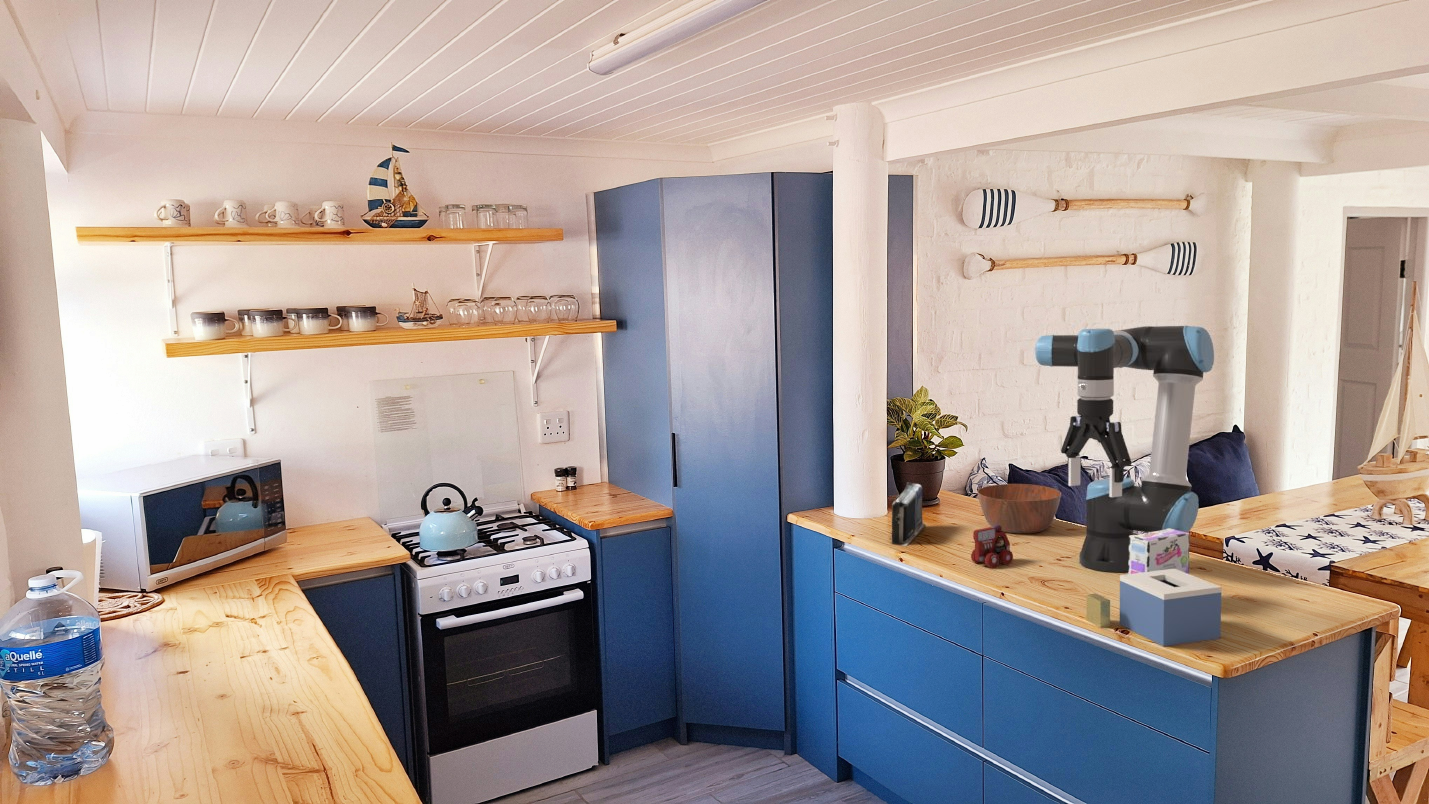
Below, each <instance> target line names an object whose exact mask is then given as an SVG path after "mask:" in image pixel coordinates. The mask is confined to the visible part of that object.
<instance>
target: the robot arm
mask: <svg viewBox="0 0 1429 804" xmlns="http://www.w3.org/2000/svg"><path fill="white" fill-rule="evenodd" d="M1213 344H1214V343H1213V340H1212V337H1211V335H1210V333H1209V332H1208V330H1207V329H1205V328H1204V327H1202V326H1191V325H1164V326H1163V325H1161V326H1160V325H1159V326H1158V325H1157V326H1152V325H1151V326H1149V325H1146V326H1137V327H1131V328H1126V329H1117V330H1113V329H1111V328H1085V329H1084V328H1083V329H1081V330H1080V331H1078V334H1067V335H1066V334H1064V335H1063V334H1062V335H1061V334H1057V335H1056V334H1048V335H1041V336H1040V337H1039V338H1037V340H1036V344H1035V347H1034V355H1035V359H1036V361H1037V364H1039V365H1040V366H1044V367H1046V366H1047V367H1051V368H1052V367H1067V368H1069V367H1073V368H1075V367H1076V368H1077V396H1078V397H1079V398H1078V399H1077V403H1076V404H1077V405H1076V406H1077V407H1076V408H1077V409H1076V410H1077V411H1076V412H1077V415H1072V416H1070V419H1069V420H1070V421H1069V422H1070V423H1069V426H1068V429H1067V432H1066V435H1065V438H1064V441H1063V443H1062V446H1061V448H1060V453H1061V454H1064V455H1065V456H1066V457H1067V471H1068V486H1069V487H1075V486H1080V485H1081V468H1082V467H1081V464H1082V463H1081V462H1082V461H1081V459H1082V458H1081V455H1080V453H1081V452H1082V450H1083V448H1084V447H1085V446H1086V444H1087V443H1088V441H1089V440H1090V439H1092V440H1094V441H1097V443H1099V444H1100V445H1101V446H1102V449H1103V450H1104V452H1105V454H1106V456H1107V458H1108V460H1109V462H1110V464H1111V466H1110V467H1109V478H1103V479H1098V480H1097V479H1096V480H1093V481H1092V482H1089V484H1088V485H1087V488H1086V497H1085V503H1086V507H1085V508H1086V510H1085V511H1086V512H1085V513H1086V515H1085V516H1086V517H1085V518H1086V522H1085V523H1086V524H1085V525H1086V528H1085V529H1086V532H1085V533H1086V535H1085V537H1084V541H1083V544H1082V546H1081V550H1080V553H1079V559H1078V562H1079V564H1080V565H1081V566H1083V567H1084V568H1088V569H1090V570H1094V571H1101V572H1107V573H1109V572H1111V573H1125V572H1127V573H1128V566H1129V565H1128V563H1129V536H1130V535H1134V532H1142V533H1149V532H1155V531H1160V530H1165V529H1168V528H1170V529H1174V530H1179V531H1182V532H1186V533H1189V532H1190V531H1191V530H1192V528H1193V527H1194V524H1195V522H1196V520H1197V517H1198V513H1199V507H1200V506H1199V505H1200V504H1199V497H1198V494H1196V493H1195V492H1193V491H1192V484H1191V483H1190V482H1189V481H1188V479H1187V478H1186V477H1187V469H1188V460H1189V449H1190V442H1191V431H1192V423H1193V422H1192V421H1193V414H1194V413H1193V412H1194V404H1195V395H1196V393H1195V392H1196V386H1197V385H1198V384H1200V383H1201V382H1202V381H1203V380H1204V373H1206V374H1207V373H1208V372H1211V371H1212V369H1213V365H1214V362H1215V348H1214V345H1213ZM1117 368H1120V369H1121V368H1130V369H1135V370H1143V371H1153V373H1152V377H1153V378H1154V379H1155V381H1157V383H1158V387H1157V398H1156V404H1155V405H1156V406H1155V415H1154V422H1153V423H1154V424H1153V433H1152V443H1151V451H1150V460H1149V461H1150V462H1149V471H1148V474H1147V475H1146V476H1144V477H1143V478H1142V479H1141V486H1139V485H1138V486H1137V485H1135V484H1136V483H1135V481H1134V479H1132V478H1128V477H1125V476H1124V475H1125V473H1124V472H1125V470H1124V469H1125V467H1126V468H1127V467H1128V466H1131V465H1132V460H1131V457H1130V454H1129V450H1128V447H1127V445H1126V441H1125V438H1124V435H1123V430H1122V423H1121V421H1114V422H1113V421H1112V422H1111V419H1110V418H1111V416H1113V414H1114V400H1113V398H1112V397H1113V396H1114V395H1115V388H1114V387H1115V385H1114V383H1115V382H1114V381H1115V380H1114V377H1115V376H1114V374H1115V373H1114V371H1115V369H1117Z"/></svg>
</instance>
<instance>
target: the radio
mask: <svg viewBox="0 0 1429 804" xmlns="http://www.w3.org/2000/svg"><path fill="white" fill-rule="evenodd" d="M926 527H927V525H926V524H925V523H924V522H923V486H922V485H921V484H919V483H913V482H911V481H910V482H906V486H905V487H904V490H903V491H902V492H901V493H900V495H899V496H898V497H897V498H896V499H895V500H894V501H893V502H892V504H891V536H890V537H889V539H890V540H891V542H889V544H891V545H894V546H900V547H901V546H902V547H907V546H909V545H910V544H911V542H913V541H914V540H915V538H917V536H919V534H920V533H922V531H924V530H925V528H926Z"/></svg>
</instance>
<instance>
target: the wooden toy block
mask: <svg viewBox="0 0 1429 804" xmlns="http://www.w3.org/2000/svg"><path fill="white" fill-rule="evenodd" d="M1085 619H1086V621H1088V622H1089V623H1091V624H1092V625H1095V626H1097V627H1098V628H1101V629H1102V628H1109V627H1111V600H1110V599H1108V598H1106V597H1105V596H1102V595H1100V594H1098V593H1089V594H1086V618H1085Z"/></svg>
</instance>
